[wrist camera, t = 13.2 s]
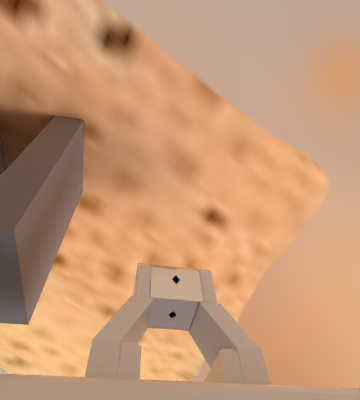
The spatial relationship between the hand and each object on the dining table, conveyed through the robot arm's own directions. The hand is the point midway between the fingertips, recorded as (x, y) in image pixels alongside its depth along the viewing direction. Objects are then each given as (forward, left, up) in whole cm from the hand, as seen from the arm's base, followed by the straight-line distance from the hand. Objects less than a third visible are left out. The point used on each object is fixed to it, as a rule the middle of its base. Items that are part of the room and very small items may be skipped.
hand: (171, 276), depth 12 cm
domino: (-6, 0, -9) cm, 11 cm away
